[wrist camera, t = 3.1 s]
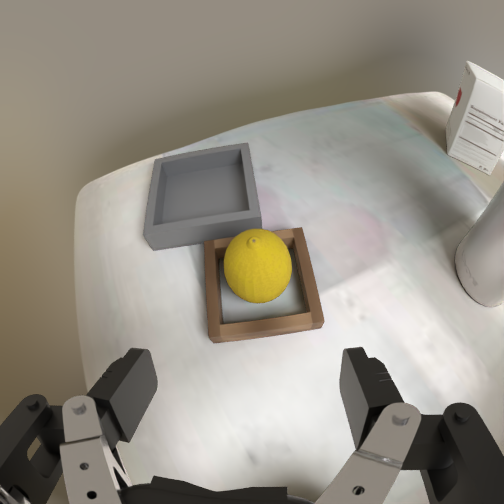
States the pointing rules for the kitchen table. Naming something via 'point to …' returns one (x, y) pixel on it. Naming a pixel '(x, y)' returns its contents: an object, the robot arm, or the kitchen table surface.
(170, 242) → the charcoal tray
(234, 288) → the lemon
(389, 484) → the robot arm
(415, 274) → the kitchen table surface
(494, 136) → the supplement box
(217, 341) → the wooden square frame
